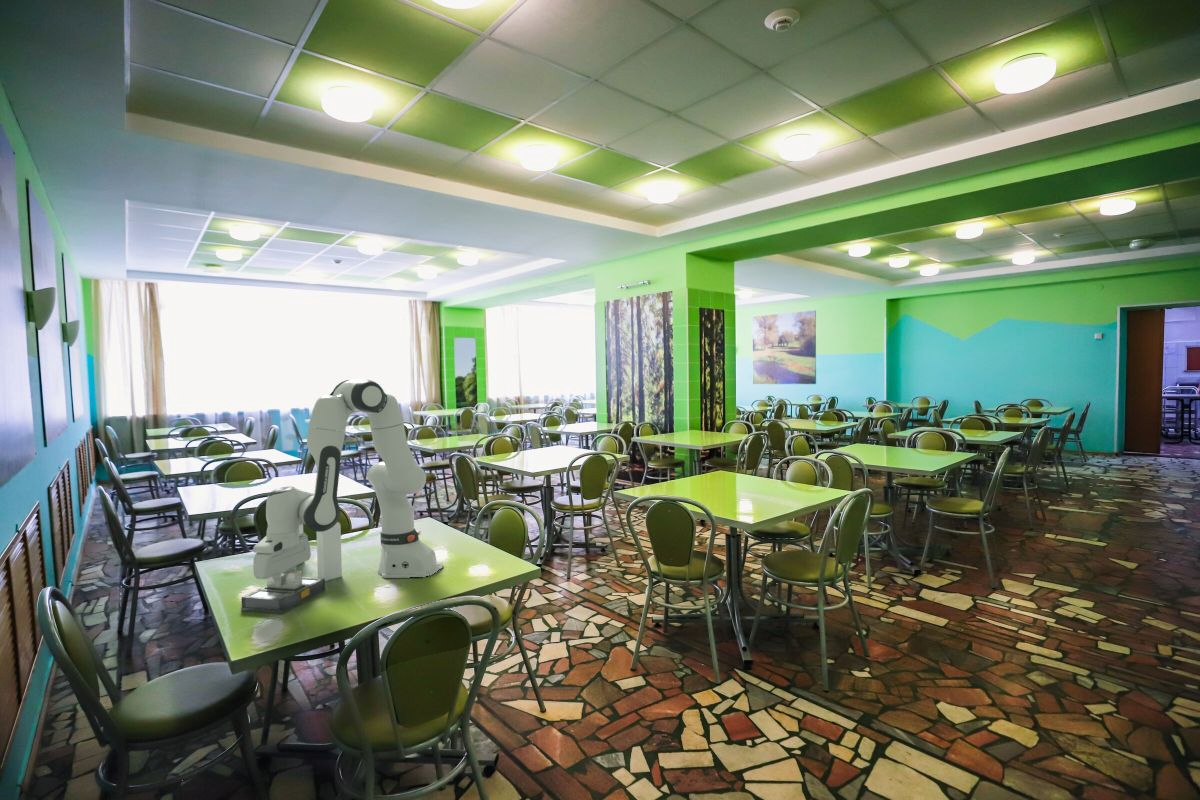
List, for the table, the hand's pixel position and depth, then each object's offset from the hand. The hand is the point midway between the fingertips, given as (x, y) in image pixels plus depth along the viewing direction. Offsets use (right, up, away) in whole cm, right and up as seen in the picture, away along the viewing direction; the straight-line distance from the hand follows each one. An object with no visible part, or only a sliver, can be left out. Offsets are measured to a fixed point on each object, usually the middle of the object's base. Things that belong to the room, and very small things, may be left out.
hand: (284, 583), depth 177 cm
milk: (+4, -5, +21) cm, 22 cm away
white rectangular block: (0, -2, 0) cm, 2 cm away
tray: (0, -5, 0) cm, 5 cm away
